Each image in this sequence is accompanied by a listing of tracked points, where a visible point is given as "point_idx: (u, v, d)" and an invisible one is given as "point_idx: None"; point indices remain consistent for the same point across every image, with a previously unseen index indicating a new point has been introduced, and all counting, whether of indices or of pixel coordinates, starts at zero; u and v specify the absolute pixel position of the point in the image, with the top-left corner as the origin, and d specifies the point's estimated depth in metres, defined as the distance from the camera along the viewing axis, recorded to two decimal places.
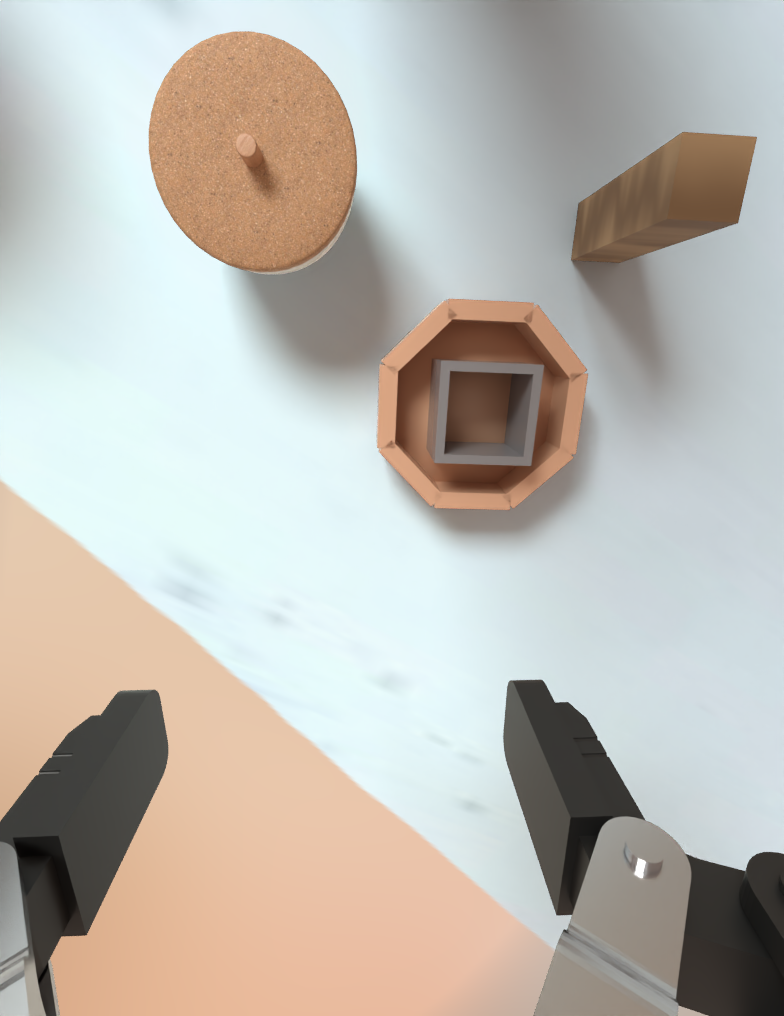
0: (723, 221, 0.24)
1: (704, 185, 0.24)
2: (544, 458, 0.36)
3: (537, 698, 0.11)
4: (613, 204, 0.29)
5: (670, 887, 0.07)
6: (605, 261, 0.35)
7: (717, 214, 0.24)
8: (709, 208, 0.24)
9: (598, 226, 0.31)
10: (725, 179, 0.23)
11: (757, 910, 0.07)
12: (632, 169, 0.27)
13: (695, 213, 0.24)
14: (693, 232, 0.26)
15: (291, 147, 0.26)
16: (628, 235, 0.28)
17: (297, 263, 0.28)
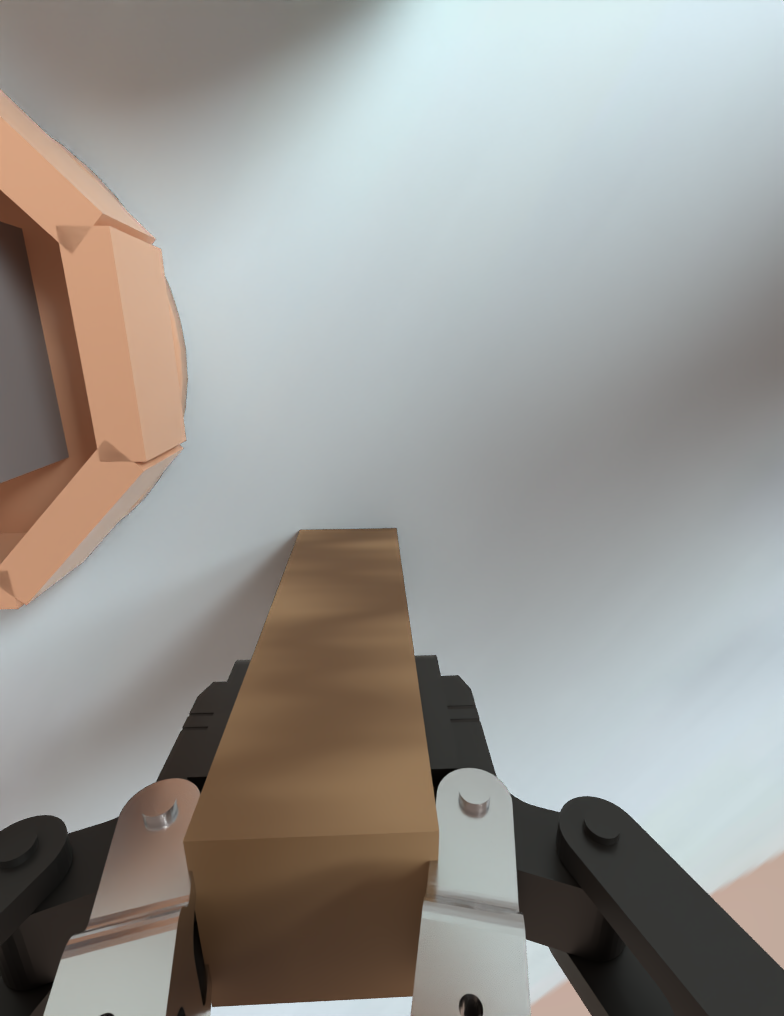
0: None
1: (296, 914, 0.07)
2: None
3: (425, 670, 0.11)
4: (352, 605, 0.13)
5: (489, 824, 0.08)
6: None
7: (224, 959, 0.08)
8: (236, 937, 0.07)
9: (326, 577, 0.15)
10: (320, 956, 0.08)
11: (573, 859, 0.07)
12: (406, 644, 0.11)
13: (215, 909, 0.07)
14: None
15: None
16: (249, 669, 0.11)
17: None
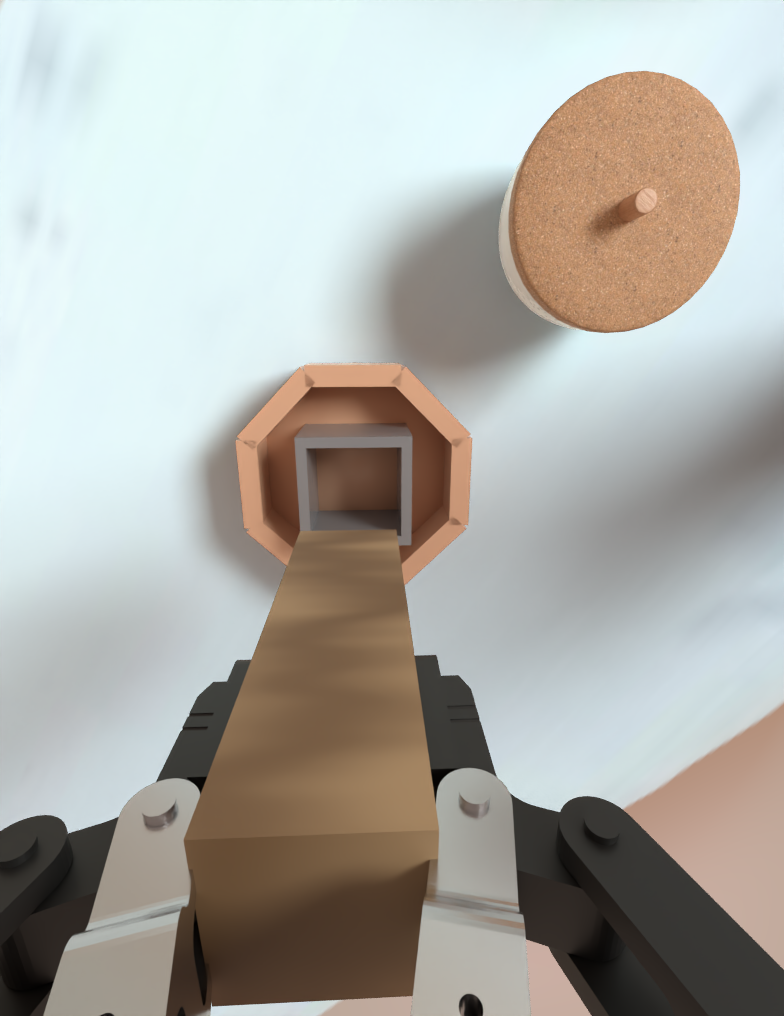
0: None
1: (297, 913, 0.07)
2: None
3: (425, 670, 0.11)
4: (352, 606, 0.13)
5: (489, 824, 0.08)
6: None
7: (224, 958, 0.08)
8: (237, 936, 0.07)
9: (327, 578, 0.15)
10: (320, 955, 0.08)
11: (573, 859, 0.07)
12: (406, 644, 0.11)
13: (215, 908, 0.07)
14: None
15: (633, 257, 0.24)
16: (250, 669, 0.11)
17: (518, 261, 0.24)
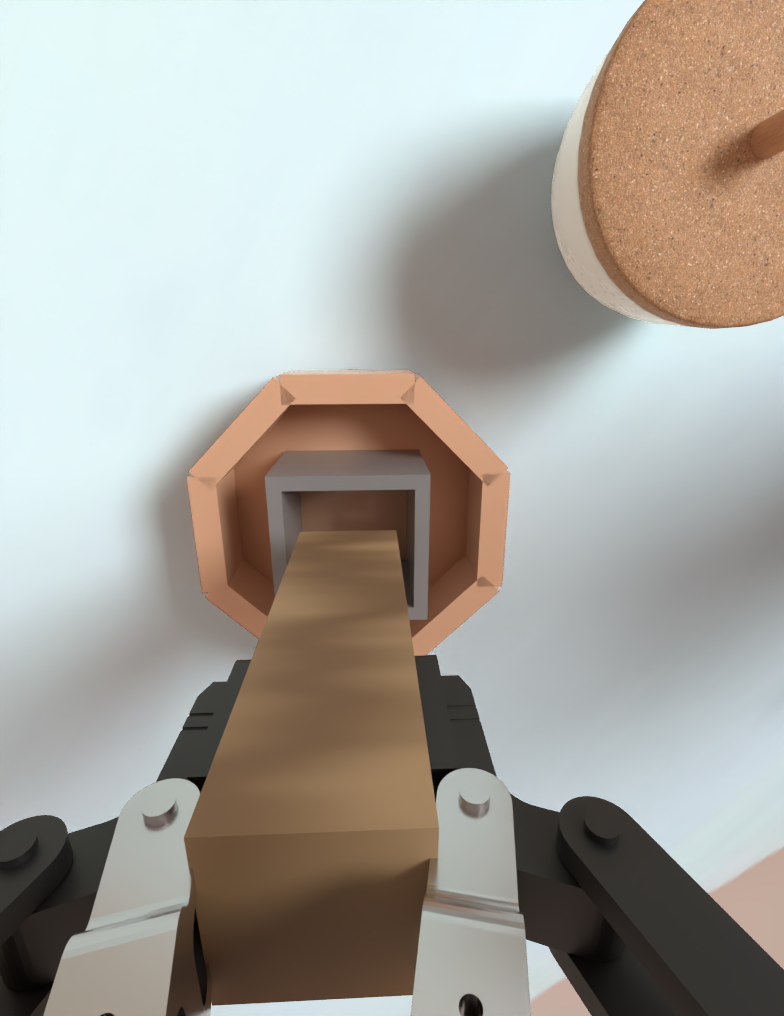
0: None
1: (297, 911, 0.07)
2: None
3: (425, 670, 0.11)
4: (352, 606, 0.13)
5: (488, 824, 0.08)
6: None
7: (224, 957, 0.08)
8: (237, 935, 0.07)
9: (327, 577, 0.15)
10: (320, 954, 0.08)
11: (573, 859, 0.07)
12: (406, 644, 0.11)
13: (216, 906, 0.07)
14: None
15: (768, 214, 0.16)
16: (250, 668, 0.11)
17: (593, 221, 0.16)
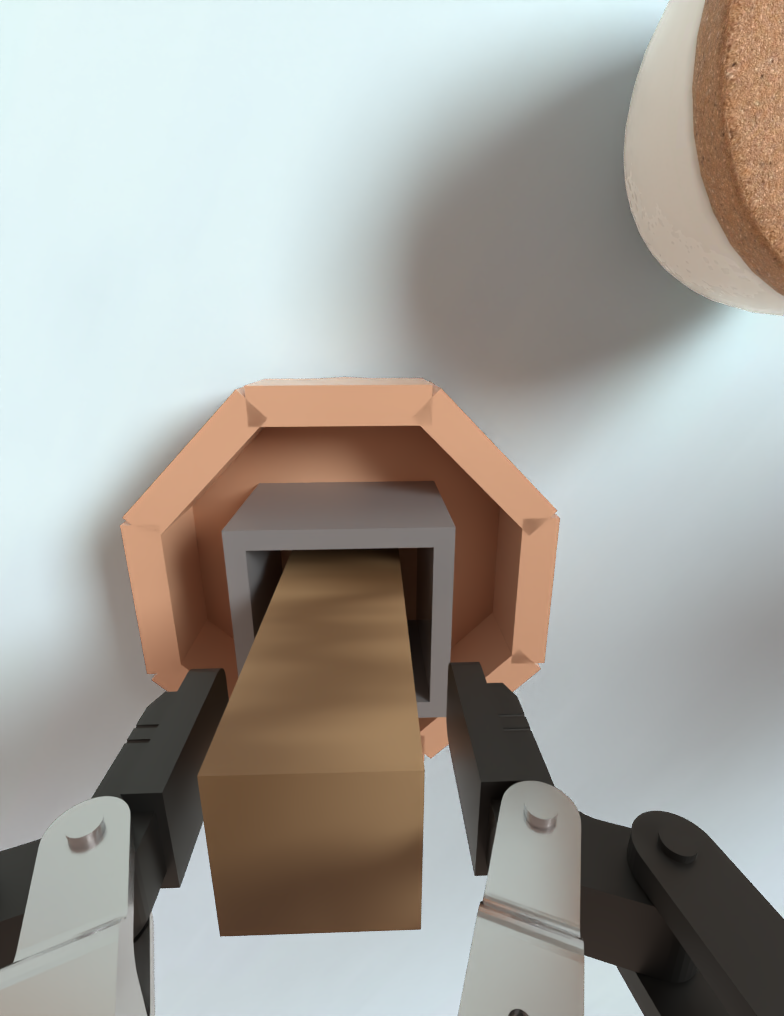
0: (217, 906, 0.09)
1: (297, 847, 0.08)
2: None
3: (471, 678, 0.11)
4: (351, 588, 0.14)
5: (559, 840, 0.07)
6: None
7: (231, 890, 0.08)
8: (243, 869, 0.08)
9: (328, 563, 0.15)
10: (318, 888, 0.08)
11: (643, 870, 0.07)
12: (401, 621, 0.12)
13: (225, 841, 0.08)
14: None
15: None
16: (256, 641, 0.11)
17: (720, 153, 0.10)
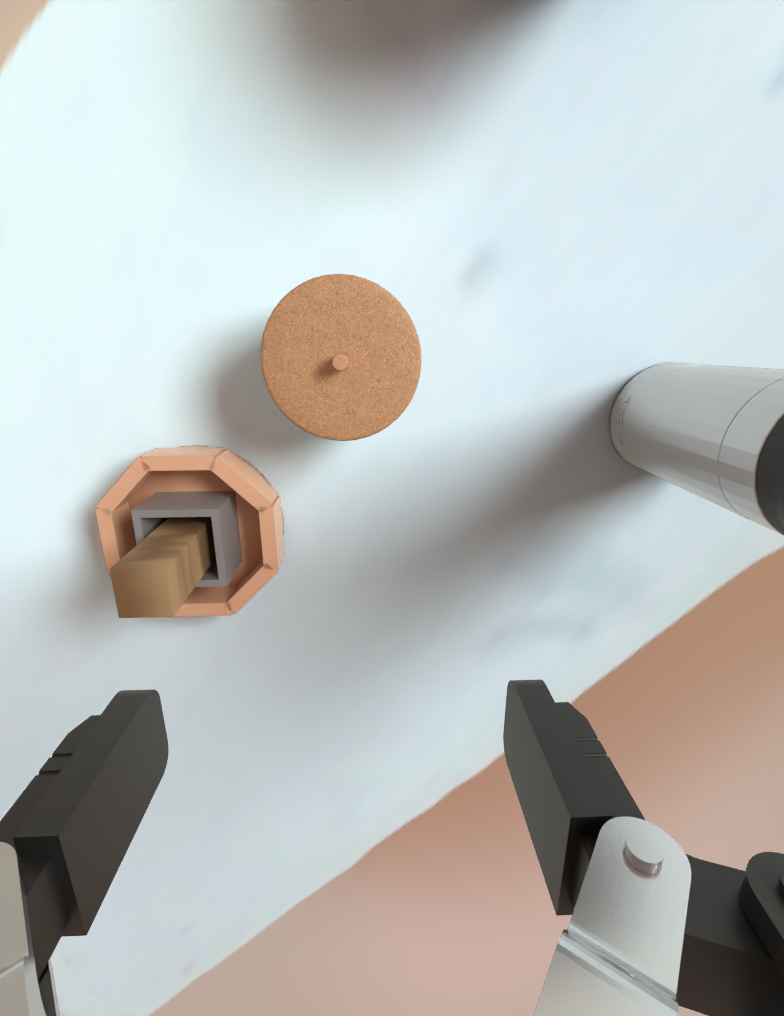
0: (117, 607, 0.33)
1: (136, 590, 0.32)
2: None
3: (537, 698, 0.11)
4: (179, 532, 0.38)
5: (670, 887, 0.07)
6: None
7: (121, 602, 0.32)
8: (123, 596, 0.32)
9: (176, 524, 0.39)
10: (143, 602, 0.33)
11: (757, 910, 0.07)
12: (188, 541, 0.36)
13: (118, 587, 0.32)
14: None
15: (349, 392, 0.34)
16: (137, 546, 0.35)
17: (270, 394, 0.34)
